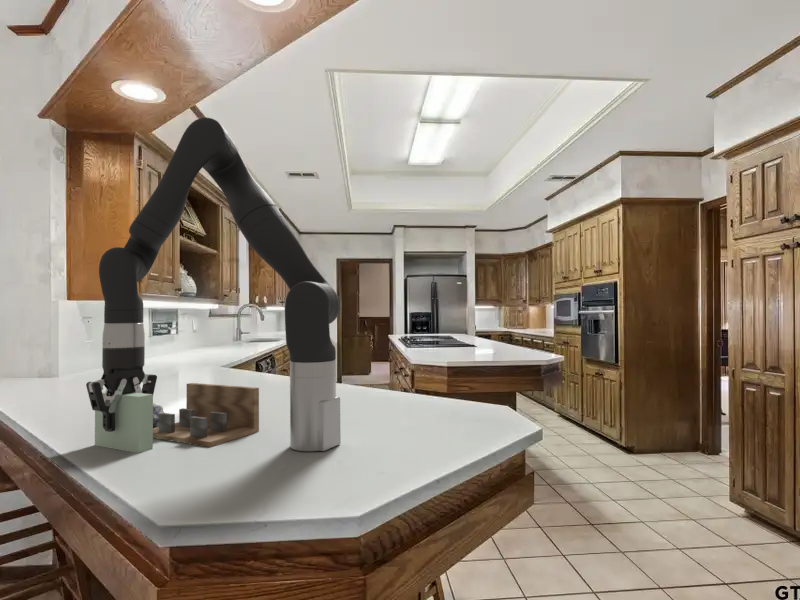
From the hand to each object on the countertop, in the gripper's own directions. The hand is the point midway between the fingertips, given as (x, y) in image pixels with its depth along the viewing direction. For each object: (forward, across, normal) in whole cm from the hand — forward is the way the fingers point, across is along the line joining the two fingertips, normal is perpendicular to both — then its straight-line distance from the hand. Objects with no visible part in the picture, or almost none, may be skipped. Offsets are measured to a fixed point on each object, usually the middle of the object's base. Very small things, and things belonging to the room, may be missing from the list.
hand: (123, 427), depth 96 cm
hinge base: (+4, +14, -6) cm, 16 cm away
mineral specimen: (+4, +16, +13) cm, 22 cm away
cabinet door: (+4, 0, 0) cm, 4 cm away
